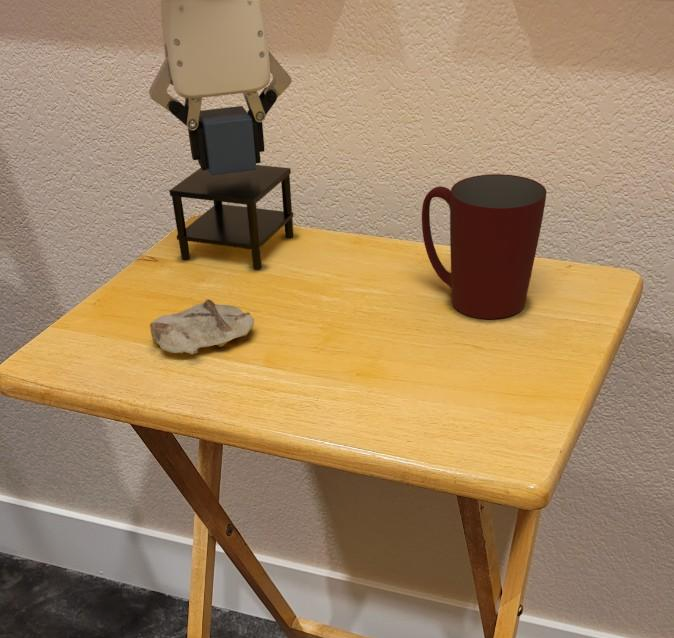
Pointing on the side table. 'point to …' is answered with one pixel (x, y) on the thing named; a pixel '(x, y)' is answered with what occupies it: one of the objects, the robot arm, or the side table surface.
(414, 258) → the side table surface
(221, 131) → the block
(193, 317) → the stone
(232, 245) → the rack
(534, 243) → the mug
